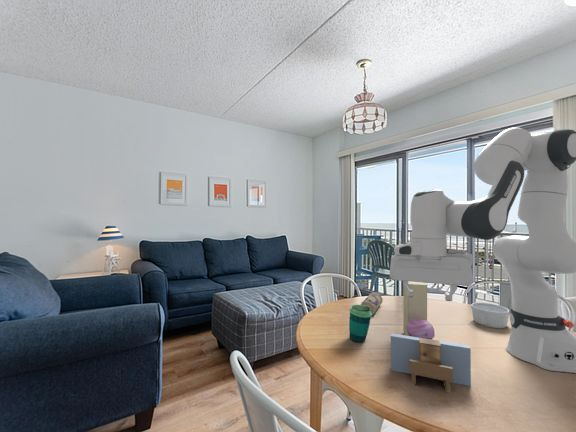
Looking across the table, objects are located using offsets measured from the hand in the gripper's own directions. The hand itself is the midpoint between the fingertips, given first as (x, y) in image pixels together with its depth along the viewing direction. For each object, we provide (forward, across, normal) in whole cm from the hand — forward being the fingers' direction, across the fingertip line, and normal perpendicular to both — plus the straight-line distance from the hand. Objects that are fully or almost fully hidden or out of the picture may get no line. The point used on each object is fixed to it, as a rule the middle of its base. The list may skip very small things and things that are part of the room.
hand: (428, 298), depth 74 cm
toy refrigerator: (+23, +2, -29) cm, 37 cm away
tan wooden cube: (+19, 0, 0) cm, 19 cm away
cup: (+23, +21, -19) cm, 36 cm away
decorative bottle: (+23, +22, -53) cm, 61 cm away
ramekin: (+23, -28, -57) cm, 68 cm away
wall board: (+23, 0, 0) cm, 23 cm away
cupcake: (+23, +1, -20) cm, 30 cm away
